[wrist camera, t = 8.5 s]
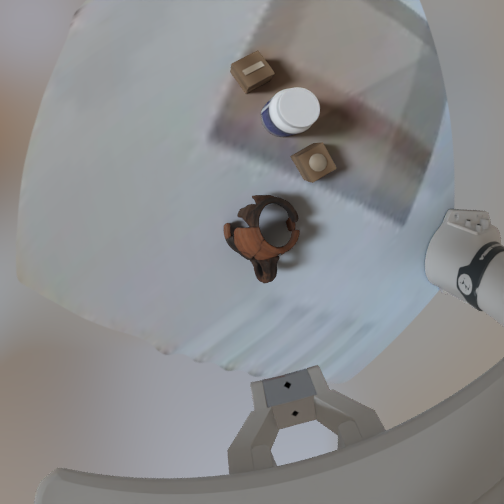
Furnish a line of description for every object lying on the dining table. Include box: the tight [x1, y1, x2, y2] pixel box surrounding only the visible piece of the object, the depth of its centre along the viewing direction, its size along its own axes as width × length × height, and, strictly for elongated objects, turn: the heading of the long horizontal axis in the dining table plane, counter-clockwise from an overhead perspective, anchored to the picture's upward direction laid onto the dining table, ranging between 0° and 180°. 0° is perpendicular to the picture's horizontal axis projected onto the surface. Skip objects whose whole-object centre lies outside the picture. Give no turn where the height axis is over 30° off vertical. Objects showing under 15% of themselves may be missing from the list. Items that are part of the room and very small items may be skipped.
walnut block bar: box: [230, 51, 275, 93], centre depth 32 cm, size 4×4×4 cm
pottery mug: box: [224, 195, 300, 283], centre depth 39 cm, size 12×10×8 cm
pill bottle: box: [261, 87, 320, 137], centre depth 31 cm, size 6×6×10 cm
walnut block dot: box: [290, 142, 336, 183], centre depth 37 cm, size 4×4×4 cm
